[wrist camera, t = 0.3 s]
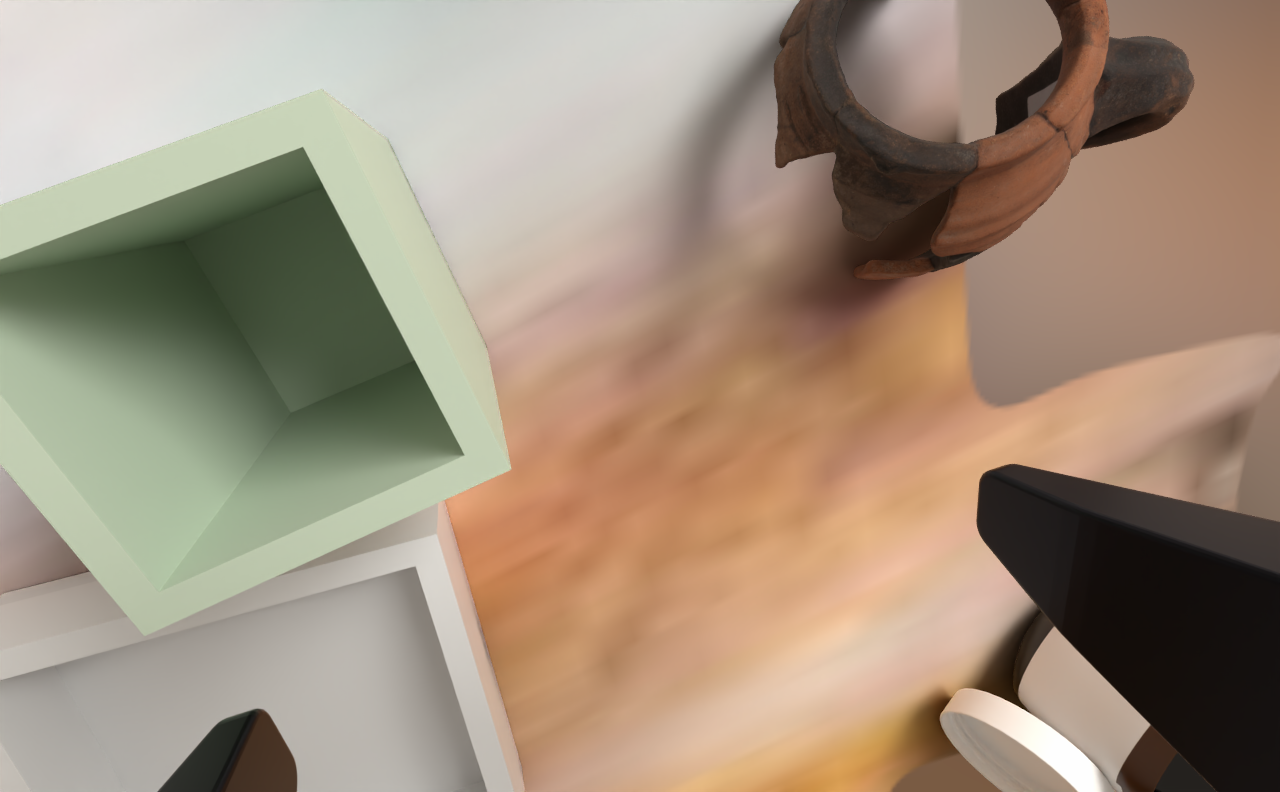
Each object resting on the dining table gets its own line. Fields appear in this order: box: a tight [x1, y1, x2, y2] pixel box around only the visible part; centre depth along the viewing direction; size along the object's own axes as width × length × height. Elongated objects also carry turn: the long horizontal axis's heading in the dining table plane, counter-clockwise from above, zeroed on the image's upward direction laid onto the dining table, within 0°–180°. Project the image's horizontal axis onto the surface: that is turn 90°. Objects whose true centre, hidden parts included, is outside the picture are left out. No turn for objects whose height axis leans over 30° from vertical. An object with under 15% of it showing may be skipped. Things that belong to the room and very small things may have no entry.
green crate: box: [0, 89, 511, 636], centre depth 15 cm, size 6×6×10 cm
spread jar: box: [940, 612, 1217, 792], centre depth 27 cm, size 12×11×12 cm
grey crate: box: [0, 500, 525, 792], centre depth 21 cm, size 13×13×4 cm
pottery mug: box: [774, 0, 1194, 280], centre depth 20 cm, size 12×10×8 cm
